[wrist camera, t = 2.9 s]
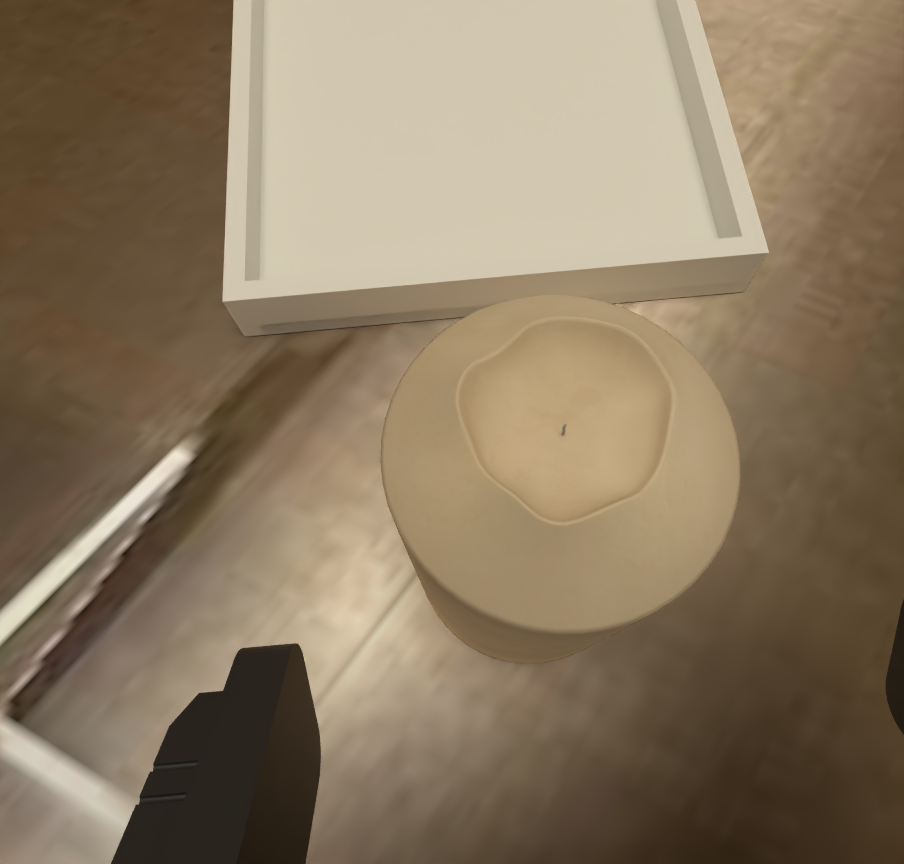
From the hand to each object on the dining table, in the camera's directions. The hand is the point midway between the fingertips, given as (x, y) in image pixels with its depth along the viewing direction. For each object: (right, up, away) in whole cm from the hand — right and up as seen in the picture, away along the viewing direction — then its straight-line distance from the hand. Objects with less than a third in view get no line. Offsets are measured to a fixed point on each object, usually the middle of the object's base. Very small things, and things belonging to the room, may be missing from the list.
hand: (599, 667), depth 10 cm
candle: (0, 0, +10) cm, 9 cm away
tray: (-2, +16, +15) cm, 22 cm away
